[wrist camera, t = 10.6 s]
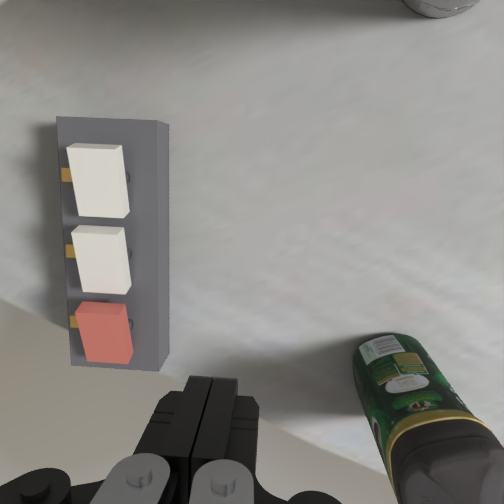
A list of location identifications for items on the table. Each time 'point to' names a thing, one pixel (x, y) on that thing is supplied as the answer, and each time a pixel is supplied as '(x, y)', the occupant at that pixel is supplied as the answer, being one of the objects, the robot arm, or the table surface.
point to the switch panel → (136, 234)
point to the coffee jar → (425, 427)
